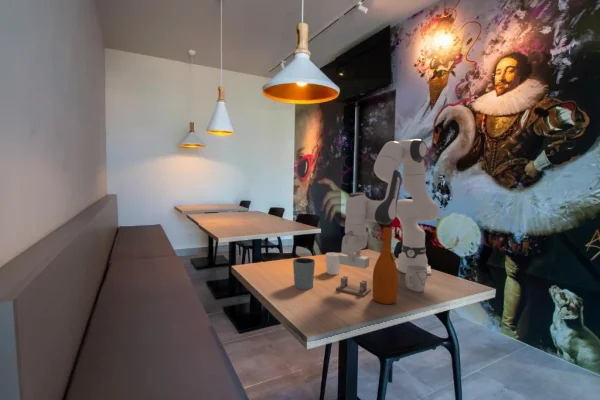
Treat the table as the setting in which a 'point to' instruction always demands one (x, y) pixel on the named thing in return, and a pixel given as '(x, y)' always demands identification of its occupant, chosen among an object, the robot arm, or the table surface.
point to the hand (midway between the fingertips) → (354, 260)
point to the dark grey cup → (303, 273)
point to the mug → (416, 277)
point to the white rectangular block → (358, 261)
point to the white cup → (332, 263)
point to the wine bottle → (385, 273)
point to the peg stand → (353, 287)
